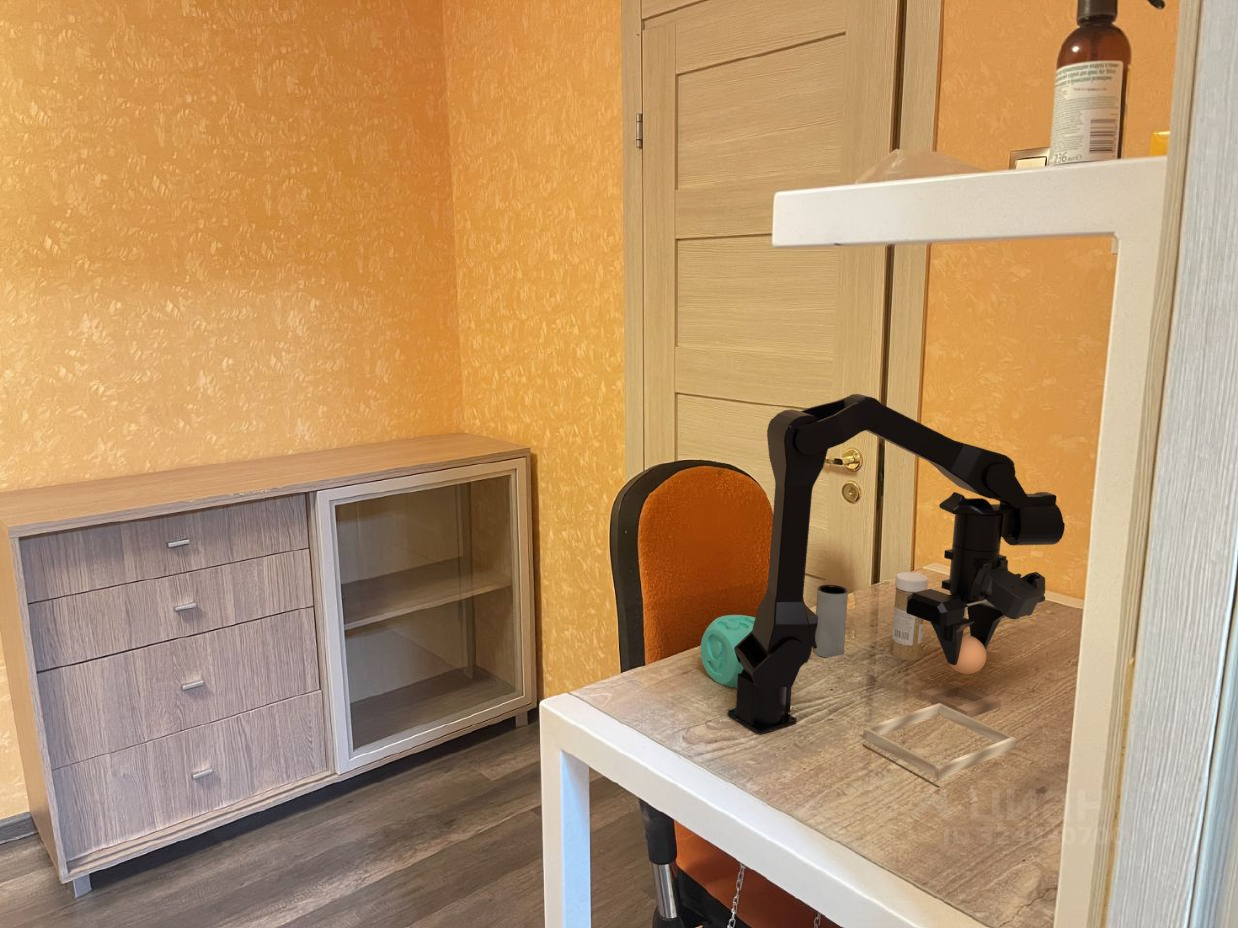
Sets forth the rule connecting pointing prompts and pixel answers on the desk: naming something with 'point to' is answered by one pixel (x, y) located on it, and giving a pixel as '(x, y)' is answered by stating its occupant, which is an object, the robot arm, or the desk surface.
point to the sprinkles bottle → (907, 617)
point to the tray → (930, 768)
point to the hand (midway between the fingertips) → (965, 660)
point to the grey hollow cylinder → (831, 620)
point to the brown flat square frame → (980, 699)
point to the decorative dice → (724, 647)
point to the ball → (970, 656)
